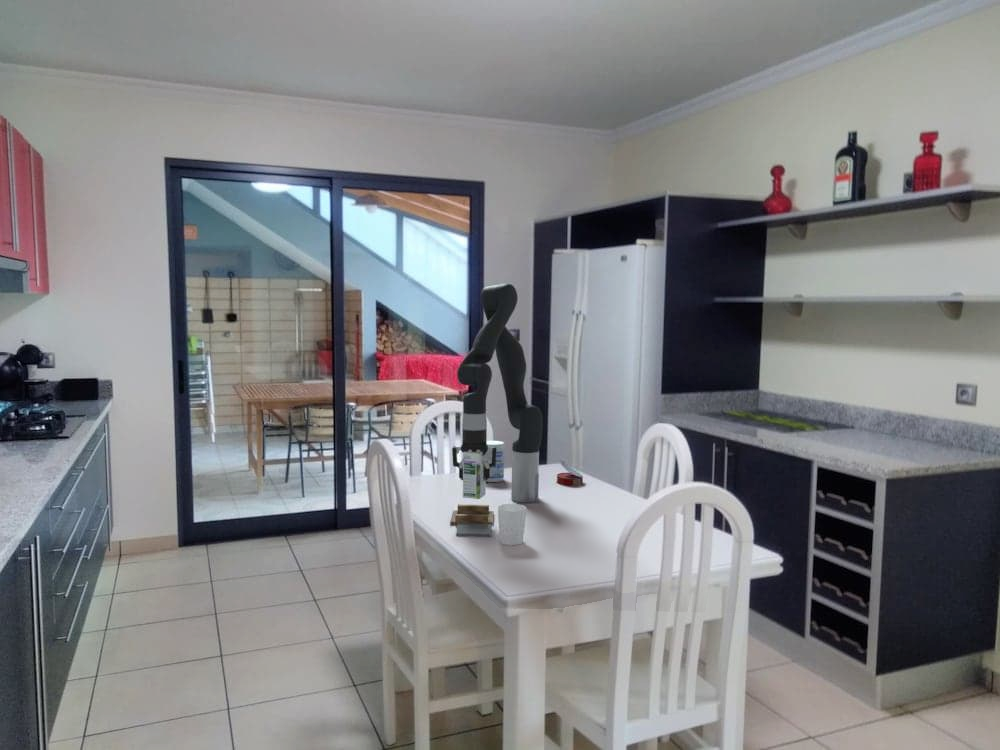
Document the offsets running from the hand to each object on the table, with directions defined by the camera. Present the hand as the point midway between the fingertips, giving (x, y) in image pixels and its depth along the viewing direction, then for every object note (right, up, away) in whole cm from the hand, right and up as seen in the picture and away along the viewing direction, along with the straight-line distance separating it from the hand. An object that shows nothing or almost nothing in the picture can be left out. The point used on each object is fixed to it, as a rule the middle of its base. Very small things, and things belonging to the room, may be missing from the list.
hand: (474, 479), depth 226 cm
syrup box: (0, -5, +1) cm, 6 cm away
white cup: (+11, -15, -20) cm, 27 cm away
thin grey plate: (0, -14, -11) cm, 17 cm away
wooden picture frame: (-1, -13, +1) cm, 13 cm away
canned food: (+35, -9, +52) cm, 63 cm away
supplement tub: (+5, -8, +54) cm, 55 cm away
